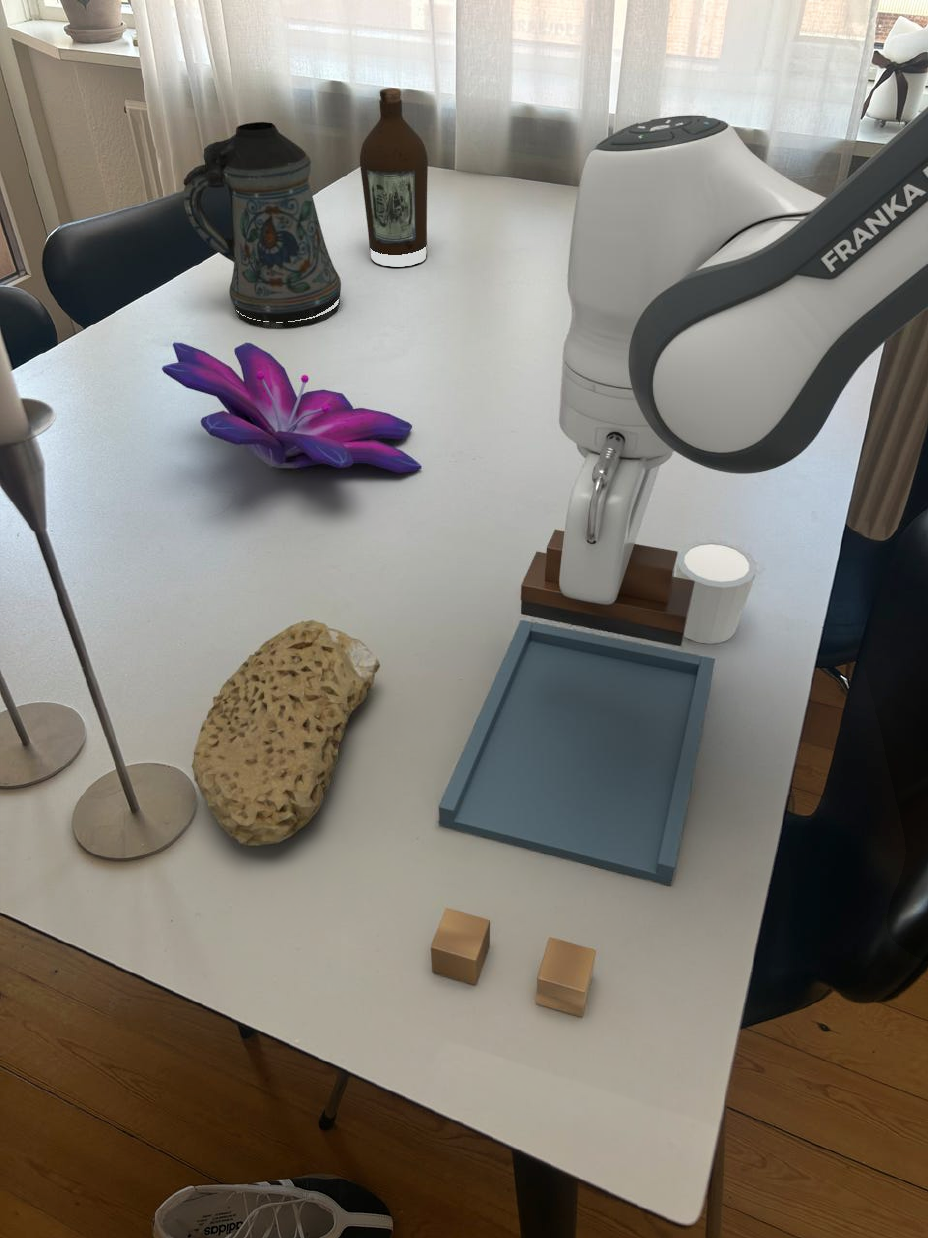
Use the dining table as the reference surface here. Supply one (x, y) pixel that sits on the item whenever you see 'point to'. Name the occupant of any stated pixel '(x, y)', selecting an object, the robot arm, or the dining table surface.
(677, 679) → the tray
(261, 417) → the decorative flower
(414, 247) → the olive oil
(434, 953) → the brown wooden cube
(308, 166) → the beer stein
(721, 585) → the white cup
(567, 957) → the light brown wooden cube
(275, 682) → the sponge
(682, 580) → the brush
